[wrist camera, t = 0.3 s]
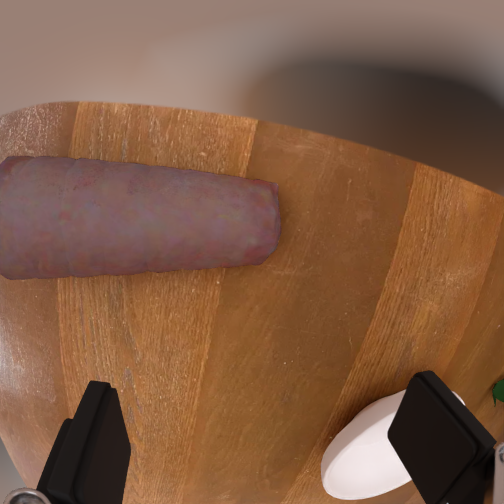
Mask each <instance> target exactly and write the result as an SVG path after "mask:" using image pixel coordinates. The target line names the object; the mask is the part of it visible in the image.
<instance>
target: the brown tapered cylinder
mask: <svg viewBox="0 0 504 504" xmlns="http://www.w3.org/2000/svg"><path fill="white" fill-rule="evenodd" d="M277 197H278V185H277V183H271V182H266V181H263V180H259V179H257V180H249V179H245V178H242V177H236V176H230V175H217V174H214V173H210V172H206V173H205V172H200V171H195V170H191V169H190V170H180V169H177V168H169V167H165V166H148V165H143V164H137V163H121V162H107V161H103V160H93V159H86V158H79V159H77V160H76V159H73V158H66V157H50V156H39V157H31V156H11V157H7V158H6V159H5V160H4V161H3V162H2V163H1V164H0V274H1V275H3V276H4V277H5V278H7V279H10V280H16V279H21V280H25V279H32V278H38V279H49V278H64V277H69V276H74V275H75V276H76V277H90V276H98V275H106V274H111V275H134V274H139V273H143V272H146V271H149V272H157V273H159V272H168V271H175V270H179V269H185V270H200V269H209V268H216V267H224V268H230V267H239V266H245V265H260V264H262V263H263V262H264V261H265V260H266V259H267V258H268V257H269V255H270V254H271V253H272V252H274V251H275V250H276V248H277V246H278V241H279V238H280V235H281V224H280V222H281V217H280V214H279V201H278V198H277Z"/></svg>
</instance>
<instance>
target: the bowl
mask: <svg viewBox="0 0 504 504" xmlns="http://www.w3.org/2000/svg"><path fill="white" fill-rule="evenodd" d="M405 391H406V390H403V391H401V392H398V393H396V394H394V395H391V396H387V397H384V398H381V399H379V400H377V401H375V402H373V403H371V404H370V405H368V406H367V407H365V408H364V409H363V410H362V411H360V412H359V413H358V414H357V415H356V416H355V417H354V419H353V420H352V421H351V422H350V423H349V424H348V425H347V426H346V427H345V428H344V429H343V430H342V431H341V432H339V433H338V434H337V436H336V437H335V438H334V439H333V441H332V442H331V443H330V444H329V446H328V447H327V449H326V451H325V453H324V455H323V458H322V462H321V477H322V483H323V487H324V489H325V490H326V492H327V493H328V494H330V495H331V496H333V497H336V498H339V499H346V500H356V499H364V498H369V497H373V496H377V495H380V494H383V493H386V492H388V491H391V490H393V489H395V488H397V487H399V486H401V485H403V484H405V483H407V482H409V481H410V480H412V479H411V477H410V475H409V474H408V472H407V470H406V469H405V467H404V465H403V463H402V462H401V460H400V458H399V457H398V455H397V453H396V452H395V450H394V448H393V447H392V445H391V443H390V442H389V440H388V437H387V432H388V429H389V427H390V425H391V423H392V421H393V419H394V417H395V414H396V412H397V410H398V408H399V405H400V403H401V401H402V398H403V396H404V394H405ZM452 392H453V391H452ZM453 393H454V394H455V396H456V397H457V398H458V399H459V400H460V401H461V402H462V403H463V404H464V405H465V403H464V402H463V400H462V399H461V398H460V397H459V396H458V395H457V394H456V393H455V392H453Z"/></svg>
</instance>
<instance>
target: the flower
mask: <svg viewBox="0 0 504 504" xmlns="http://www.w3.org/2000/svg"><path fill="white" fill-rule="evenodd" d="M493 389H494V390H493ZM493 389H492V390H493V391H492V393H493V399H494V403H495V405H496V399H498V400H500V401H502V402H504V379H503V380H501V381H499V382H498V383H496V384H494V387H493Z"/></svg>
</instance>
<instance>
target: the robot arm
mask: <svg viewBox="0 0 504 504" xmlns="http://www.w3.org/2000/svg"><path fill="white" fill-rule="evenodd" d="M387 437H388V440H389V442H390V443H391V445H392V447H393V448H394V450H395V452H396V453H397V455H398V457H399V458H400V460H401V462H402V463H403V465H404V467H405V469H406V470H407V472H408V474H409V475H410V477H411V479H412V480H413V482H414V484H415V486H416V487H417V489H418V491H419V492H420V494H421V496H422V498H423V499H424V501H425V503H426V504H447V503H448V504H504V442H503V443H501V444H499V445H498V446H497V448H496V449H495V450H494V448H493V446H494V445H495V444H496V442H497V441H496V440H495V439H494V438H493V437H492V436H491V435H490V433H489V432H488V431H487V430H486V429H485V428H484V427H483V425H482V424H481V423H480V422H479V421H478V420H477V419H476V418H475V416H474V415H473V414H472V413H471V412H470V411H469V410H468V409H467V408H466V406H465V405H464V404H463V403H462V402H461V401H460V400H459V399H458V398H457V397H456V396H455V394H454V393H453V392H452V391H451V390H450V389H449V388H448V387H447V386H446V385H445V384H444V383H443V382H442V380H441V379H440V378H439V377H438V376H437V375H436V374H435V373H434V372H433V371H430V370H428V371H423V372H418V373H416V374H415V375H414V376H413V378H412V379H411V380H410V381H409V384H408V386H407V389H406V391H405V394H404V396H403V398H402V401H401V403H400V405H399V408H398V410H397V412H396V414H395V417H394V419H393V421H392V423H391V425H390V427H389V429H388V432H387ZM130 455H131V446H130V442H129V438H128V434H127V431H126V427H125V423H124V419H123V415H122V411H121V407H120V402H119V398H118V393H117V390H116V388H111V385H110V383H107V382H100V381H92V380H91V381H90V382H89V384H88V386H87V388H86V390H85V393H84V395H83V397H82V399H81V402H80V404H79V406H78V408H77V411H76V413H75V415H74V418H73V419H70V418H67V419H66V420H64V422H63V424H62V426H61V428H60V431H59V433H58V435H57V438H56V440H55V442H54V445H53V447H52V450H51V452H50V454H49V457H48V459H47V462H46V464H45V467H44V470H43V472H42V475H41V477H40V480H39V483H38V486H37V488H36V490H35V489H32V488H19V489H16V490H14V491H12V492H11V493H9V495H7V497H6V499H5V501H4V503H3V504H122V500H123V494H124V488H125V482H126V477H127V471H128V466H129V460H130Z"/></svg>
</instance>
